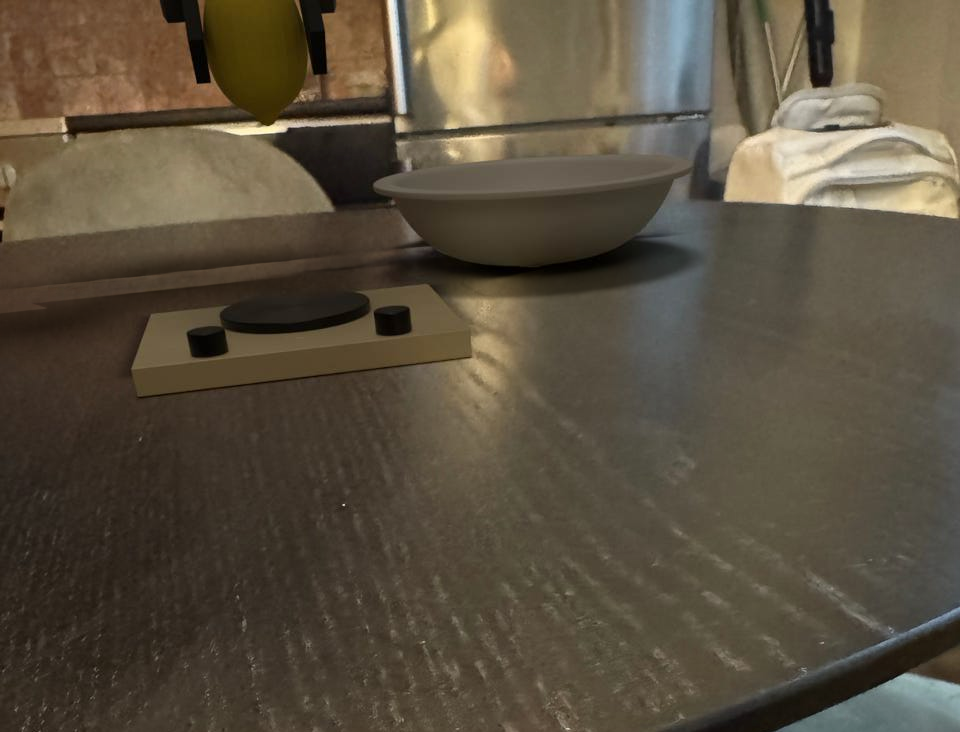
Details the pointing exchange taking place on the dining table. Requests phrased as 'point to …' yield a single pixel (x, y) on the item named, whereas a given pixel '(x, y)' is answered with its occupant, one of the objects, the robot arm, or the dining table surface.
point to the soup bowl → (533, 205)
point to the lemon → (256, 53)
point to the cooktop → (296, 338)
